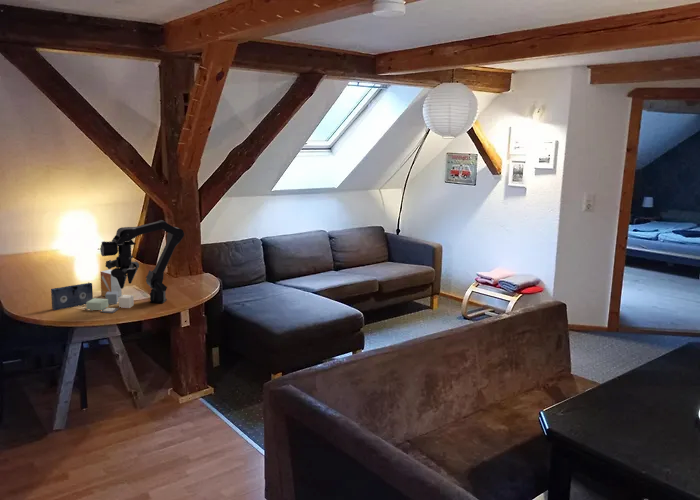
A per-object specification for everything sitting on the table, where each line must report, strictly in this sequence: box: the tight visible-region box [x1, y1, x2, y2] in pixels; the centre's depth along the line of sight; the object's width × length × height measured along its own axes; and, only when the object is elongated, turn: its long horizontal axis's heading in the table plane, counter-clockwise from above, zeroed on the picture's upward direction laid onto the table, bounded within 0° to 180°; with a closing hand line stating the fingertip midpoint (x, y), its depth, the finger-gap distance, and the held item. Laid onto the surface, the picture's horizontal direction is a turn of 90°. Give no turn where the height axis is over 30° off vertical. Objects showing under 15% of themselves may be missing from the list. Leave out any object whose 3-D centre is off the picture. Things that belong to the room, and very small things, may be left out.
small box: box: [100, 269, 123, 298], centre depth 280 cm, size 8×6×13 cm
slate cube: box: [105, 291, 119, 305], centre depth 270 cm, size 5×5×5 cm
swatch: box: [99, 307, 119, 314], centre depth 258 cm, size 6×6×1 cm
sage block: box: [85, 297, 109, 311], centre depth 261 cm, size 7×7×4 cm
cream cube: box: [118, 294, 135, 309], centre depth 266 cm, size 5×5×5 cm
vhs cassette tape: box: [50, 282, 94, 311], centre depth 262 cm, size 18×3×10 cm, turn 139°
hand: (126, 285), depth 264 cm, fingers open, 9 cm apart
